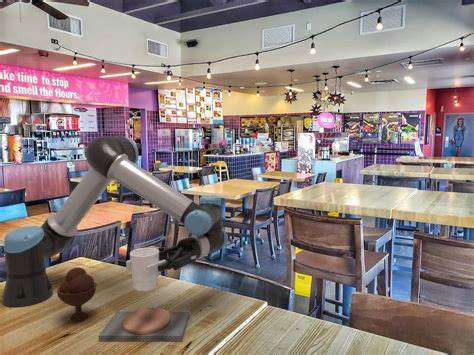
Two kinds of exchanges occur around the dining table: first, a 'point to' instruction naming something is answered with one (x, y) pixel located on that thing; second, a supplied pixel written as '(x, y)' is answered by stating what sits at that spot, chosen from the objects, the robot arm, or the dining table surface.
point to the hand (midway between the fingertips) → (137, 268)
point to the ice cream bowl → (77, 291)
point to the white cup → (144, 268)
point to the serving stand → (146, 325)
